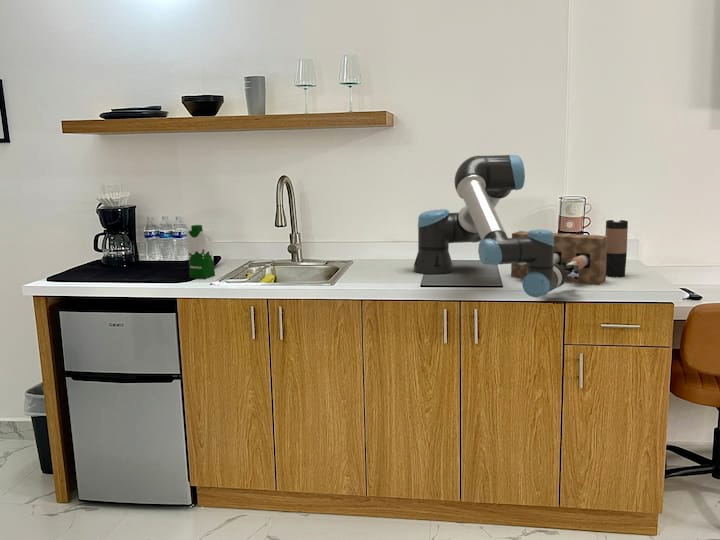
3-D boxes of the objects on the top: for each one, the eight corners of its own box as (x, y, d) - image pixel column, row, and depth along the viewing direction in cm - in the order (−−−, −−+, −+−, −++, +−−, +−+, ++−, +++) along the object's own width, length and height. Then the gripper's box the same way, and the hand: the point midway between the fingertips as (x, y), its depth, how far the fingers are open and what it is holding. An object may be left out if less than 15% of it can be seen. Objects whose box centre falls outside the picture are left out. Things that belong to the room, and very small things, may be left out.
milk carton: (186, 278, 280) (182, 226, 276) (198, 274, 288) (195, 223, 285) (206, 279, 277) (203, 226, 273) (218, 275, 285) (215, 223, 282)
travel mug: (614, 278, 265) (617, 222, 262) (599, 274, 272) (601, 220, 268) (630, 275, 269) (632, 221, 265) (614, 272, 275) (616, 219, 272)
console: (511, 276, 271) (511, 233, 268) (519, 273, 278) (520, 231, 275) (599, 284, 254) (601, 238, 251) (605, 280, 260) (607, 235, 258)
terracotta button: (570, 269, 252) (571, 256, 252) (577, 265, 258) (577, 253, 257) (583, 270, 250) (584, 257, 249) (589, 266, 256) (590, 254, 255)
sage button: (542, 266, 258) (542, 254, 257) (549, 263, 264) (549, 251, 263) (554, 267, 255) (555, 255, 255) (561, 264, 261) (561, 252, 260)
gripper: (530, 287, 232) (555, 274, 252) (571, 291, 225) (593, 278, 245) (530, 263, 231) (555, 253, 250) (572, 266, 224) (594, 255, 243)
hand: (574, 265), depth 248 cm, fingers closed
